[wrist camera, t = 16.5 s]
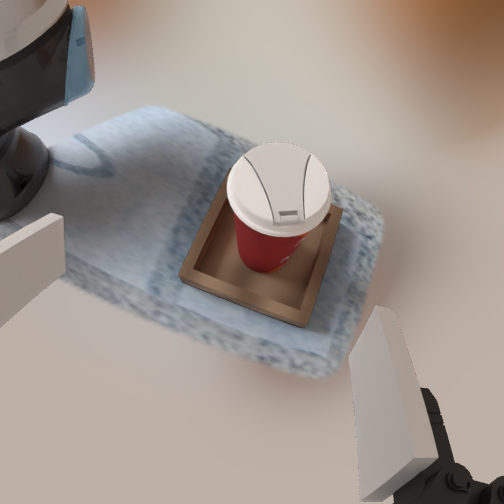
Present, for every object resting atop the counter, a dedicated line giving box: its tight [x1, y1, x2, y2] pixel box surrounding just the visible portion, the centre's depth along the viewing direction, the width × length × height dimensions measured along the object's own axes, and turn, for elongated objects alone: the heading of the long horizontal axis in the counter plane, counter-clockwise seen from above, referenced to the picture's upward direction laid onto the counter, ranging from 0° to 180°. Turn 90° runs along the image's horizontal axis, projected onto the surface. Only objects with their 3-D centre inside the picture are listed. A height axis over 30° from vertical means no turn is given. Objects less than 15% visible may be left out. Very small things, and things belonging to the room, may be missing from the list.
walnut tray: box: [178, 168, 343, 328], centre depth 37 cm, size 14×14×3 cm
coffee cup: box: [227, 142, 331, 273], centre depth 30 cm, size 8×8×15 cm
